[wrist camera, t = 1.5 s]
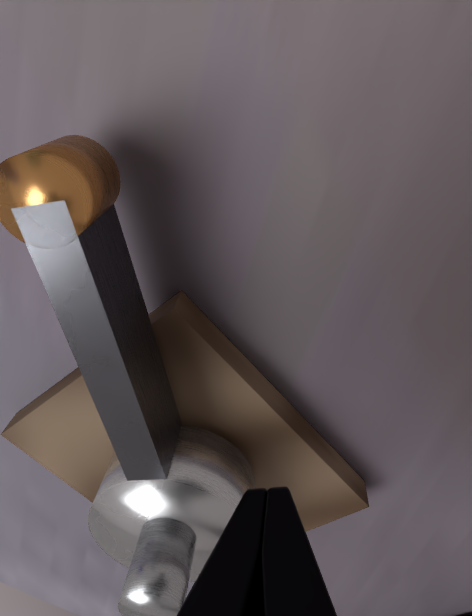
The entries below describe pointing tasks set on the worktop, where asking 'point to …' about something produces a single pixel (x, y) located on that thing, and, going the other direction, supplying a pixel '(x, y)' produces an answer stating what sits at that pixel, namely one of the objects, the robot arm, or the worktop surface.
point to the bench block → (198, 421)
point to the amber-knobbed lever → (122, 377)
